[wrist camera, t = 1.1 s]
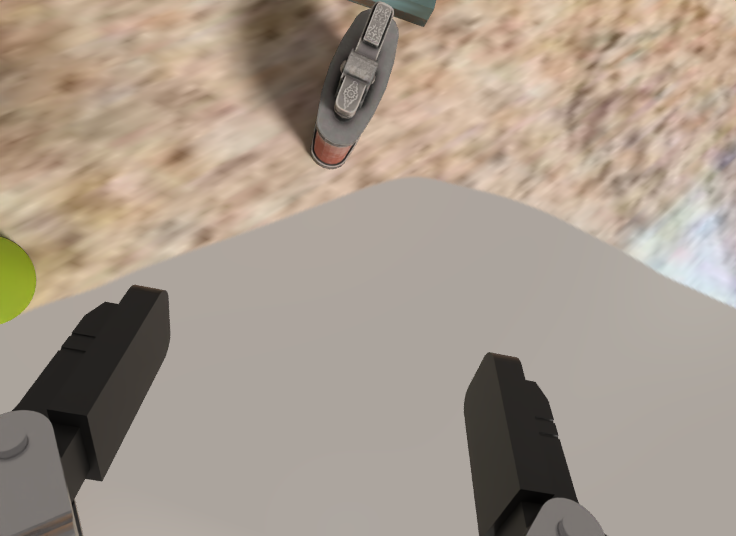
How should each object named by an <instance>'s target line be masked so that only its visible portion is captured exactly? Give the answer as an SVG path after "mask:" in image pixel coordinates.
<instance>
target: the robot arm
mask: <svg viewBox="0 0 736 536" xmlns="http://www.w3.org/2000/svg"><path fill="white" fill-rule="evenodd" d="M169 342H170V319H169V301H168V293H167V291H165V290H160V289H155V288H149V287H144V286H138V285H133V286H131V287H130V288H129V290H128V291H127V293H126V294H125V295H124V297H123V298H122V300H121V301H120V303H119V304H114V303H109V302H104V303H103V304H101V305H100V306H98V307H97V308H95V309H94V310H92V311H91V312H89V313H88V314H86V315H85V316H84V317H83V318H82V320H81V321H80V322H79V324H78V325H77V327H76V328H75V329H74V330H73V332H72V335H71V336H69V337H68V339H67V340H66V341H65V343H64V344H63V345H62V347H61V350H60V351H58V352H57V353H56V355H55V356H54V357H53V359H52V360H51V361H50V363H49V364H48V365H47V367H46V368H45V369H44V371H43V372H42V373H41V375H40V376H39V377H38V379H37V380H36V381H35V383H34V384H33V385H32V387H31V388H30V389H29V391H28V392H27V393H26V395H25V396H24V397H23V399H22V400H21V401H20V403H19V404H18V405H17V406H16V407H15V408H14V409H13V410H12V411H11V412H7V413H4V414H1V415H0V536H84V535H83V531H82V527H81V523H80V518H79V514H78V510H77V505H76V501H75V497H76V495H77V493H78V491H79V489H80V487H81V485H82V484H83V482H84V480H85V479H91V480H97V481H103V479H104V477H105V475H106V473H107V471H108V469H109V467H110V465H111V463H112V461H113V459H114V457H115V455H116V453H117V451H118V449H119V447H120V445H121V443H122V441H123V439H124V437H125V435H126V433H127V431H128V430H129V428H130V426H131V424H132V421H133V420H134V417H135V416H136V414H137V412H138V410H139V408H140V406H141V404H142V402H143V400H144V398H145V396H146V394H147V392H148V390H149V388H150V386H151V384H152V382H153V380H154V378H155V376H156V374H157V372H158V370H159V368H160V367H161V365H162V362H163V361H164V358H165V356H166V353H167V350H168V347H169ZM464 416H465V425H466V433H467V440H468V449H469V456H470V465H471V473H472V481H473V489H474V498H475V506H476V513H477V522H478V530H479V536H607V535H605V534H604V532H603V530H602V528H601V526H600V524H599V523H598V521H597V520H596V519H595V517H594V516H593V515H592V514H591V513H590V512H589V511H588V510H587V509H586V508H584V507H583V506H581V505H580V504H579V502H578V500H577V497H576V494H575V490H574V487H573V483H572V480H571V477H570V473H569V470H568V466H567V463H566V459H565V456H564V453H563V450H562V446H561V442H560V440H559V439H558V432H557V429H556V425H555V423H553V420H554V419H553V415H552V412H551V409H550V405H549V402H548V399H547V398H546V397H545V395H544V394H543V392H542V391H541V389H540V388H539V387H538V385H537V384H536V382H533V381H528V380H525V377H524V373H523V369H522V365H521V362H520V360H519V359H518V358H517V357H512V356H506V355H501V354H496V353H490V352H489V353H487V354H486V355H485V357H484V358H483V360H482V362H481V364H480V366H479V368H478V370H477V372H476V374H475V376H474V378H473V380H472V381H471V383H470V385H469V387H468V389H467V392H466V396H465V402H464Z"/></svg>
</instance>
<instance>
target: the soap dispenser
mask: <svg viewBox="0 0 736 536" xmlns="http://www.w3.org/2000/svg"><path fill="white" fill-rule="evenodd" d="M35 287H36V274H35V269H34V266H33V264H32V262H31V260H30V258H29V257H28V255H27V254H26V253H25V251H24V250H23V249H22V248H20V247H19V246H18V245H17V244H15V243H14V242H12V241H10V240H8V239H6V238H3V237H0V324H2V323H5V322H8V321H10V320H12V319H13V318H15V317H16V316H18V315H19V314H20V313H21V312H22V311H23V310H24V309H25V308H26V307H27V306H28V304H29V303H30V301H31V299H32V297H33V295H34V292H35Z"/></svg>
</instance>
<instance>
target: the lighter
mask: <svg viewBox="0 0 736 536" xmlns="http://www.w3.org/2000/svg"><path fill="white" fill-rule="evenodd" d="M393 15H394V10H393V8H392V7H391V6H390V5H388V4H386V3H384V2H381V1H378V2H376V3H374V5H373V7H372V9H368V10H365V11H363V12H361V13H360V14H359V15H358V16H357V17H356V18H355V20H354V22H353V23H352V25H351V26H350V28H349V29H348V31H347V32H346V34H345V35H344V37H343V39H342V41H341V43H340V45H339V47H338V49H337V51H336V53H335V55H334V57H333V59H332V61H331V63H330V66H329V69H328V73H327V76H326V79H325V82H324V85H323V89H322V92H321V98H320V103H319V109H318V114H317V120H316V123H315V128H314V133H313V139H312V144H311V156H312V158H313V160H314V161H315V162H316V163H317V164H318V165H319V166H321V167H323V168H326V169H337V168H339V167H341V166H342V165H343V164H344V163H345V161H346V160H347V158H348V157H349V155H350V154H351V152H352V150H353V149H354V147H355V146H356V144H357V142H358V140H359V138H360V136H361V134H362V132H363V131H364V129H365V128H366V126H367V125H368V123H369V121H370V120H371V118H372V117H373V115H374V113H375V111H376V109H377V107H378V104H379V102H380V100H381V98H382V96H383V94H384V92H385V90H386V87H387V83H388V80H389V77H390V74H391V70H392V67H393V64H394V59H395V54H396V48H397V42H398V37H399V33H398V27H397V25H396V22H395V21H394V20H393V19H392V18H393Z"/></svg>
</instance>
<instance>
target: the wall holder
mask: <svg viewBox="0 0 736 536" xmlns="http://www.w3.org/2000/svg"><path fill="white" fill-rule="evenodd" d="M349 1H352V2H354V3H357V4H360V5H363V6H366V7H369V8H372V7H373V5H374V3H376V2H378V1H381V2H384V3H386V4H388V5H390V6H391V7H392V8H393V10H394V15H393V16H394V17H397V18H400V19H403V20H406V21H409V22H411V23H414V24H417V25H420V26H423V27H424V26H425V24H426V22H427V20H428V19H429V17H430V15H431V13H432V12H433V10H434V7H435V3H436V0H349Z"/></svg>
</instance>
